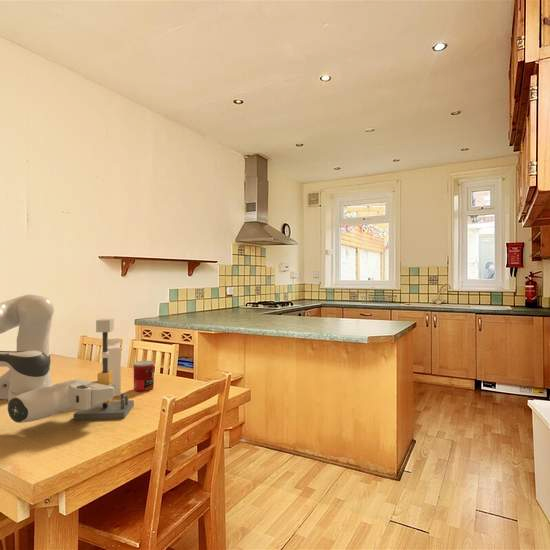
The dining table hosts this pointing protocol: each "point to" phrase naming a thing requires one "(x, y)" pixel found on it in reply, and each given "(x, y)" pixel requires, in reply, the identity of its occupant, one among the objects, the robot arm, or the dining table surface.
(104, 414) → the stand
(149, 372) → the canned food
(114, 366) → the milk
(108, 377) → the sleeve
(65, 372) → the dining table surface
